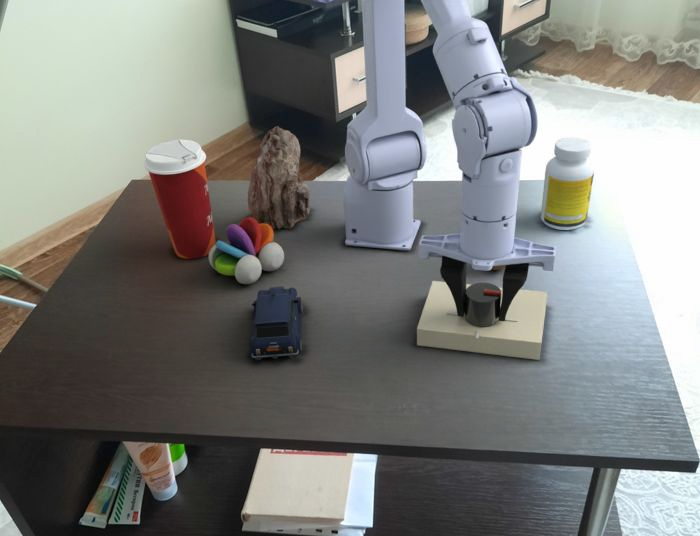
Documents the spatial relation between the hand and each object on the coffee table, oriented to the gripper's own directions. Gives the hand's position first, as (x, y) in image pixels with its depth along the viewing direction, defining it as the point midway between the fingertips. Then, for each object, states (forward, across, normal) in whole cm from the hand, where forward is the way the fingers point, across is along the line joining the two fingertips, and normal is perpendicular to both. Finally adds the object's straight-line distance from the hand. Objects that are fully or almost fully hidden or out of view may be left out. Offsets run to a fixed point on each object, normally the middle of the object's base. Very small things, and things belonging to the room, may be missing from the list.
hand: (482, 313), depth 84 cm
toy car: (+3, -24, -4) cm, 25 cm away
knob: (0, 0, 0) cm, 0 cm away
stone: (+3, -33, +22) cm, 40 cm away
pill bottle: (+3, +8, +28) cm, 30 cm away
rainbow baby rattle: (+3, -33, +8) cm, 34 cm away
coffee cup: (+3, -43, +12) cm, 45 cm away
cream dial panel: (+3, 0, +2) cm, 3 cm away
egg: (+3, 0, +14) cm, 15 cm away
